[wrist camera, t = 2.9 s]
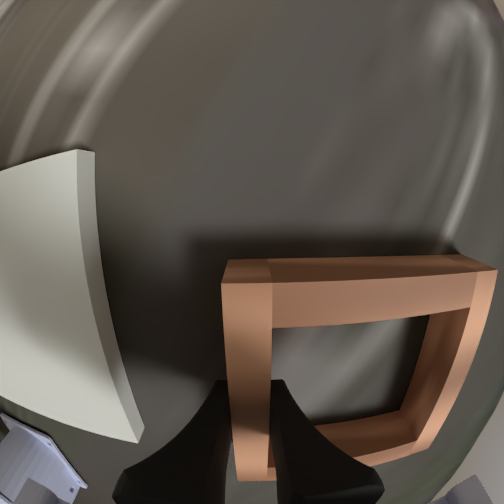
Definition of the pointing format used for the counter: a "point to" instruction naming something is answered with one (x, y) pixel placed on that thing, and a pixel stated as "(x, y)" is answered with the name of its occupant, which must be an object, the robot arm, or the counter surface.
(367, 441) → the loop
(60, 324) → the hook board
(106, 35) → the counter surface
